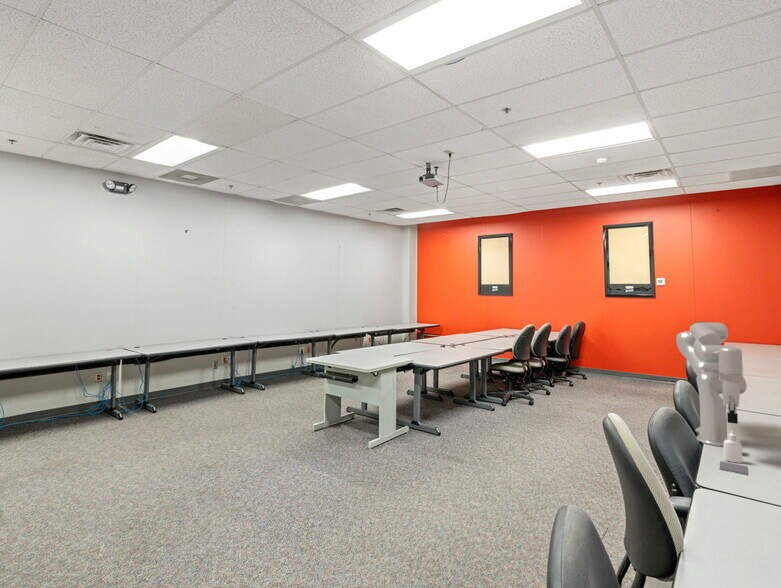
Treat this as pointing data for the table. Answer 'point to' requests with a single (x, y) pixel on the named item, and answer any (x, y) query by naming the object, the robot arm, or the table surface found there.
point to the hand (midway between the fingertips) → (732, 422)
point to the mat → (733, 467)
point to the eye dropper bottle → (732, 449)
